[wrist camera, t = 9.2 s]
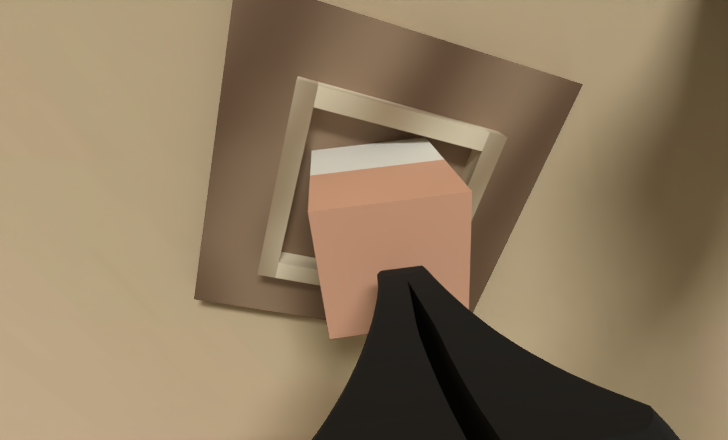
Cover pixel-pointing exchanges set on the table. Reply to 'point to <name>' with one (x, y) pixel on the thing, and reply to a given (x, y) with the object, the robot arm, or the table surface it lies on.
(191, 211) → the table surface
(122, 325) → the table surface
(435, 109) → the walnut board
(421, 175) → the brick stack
